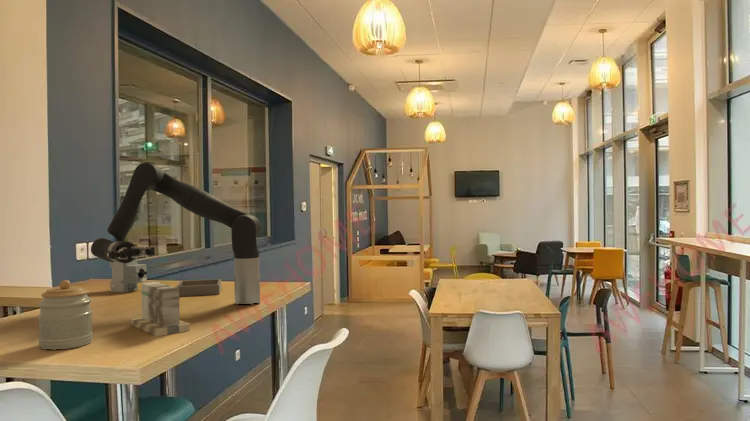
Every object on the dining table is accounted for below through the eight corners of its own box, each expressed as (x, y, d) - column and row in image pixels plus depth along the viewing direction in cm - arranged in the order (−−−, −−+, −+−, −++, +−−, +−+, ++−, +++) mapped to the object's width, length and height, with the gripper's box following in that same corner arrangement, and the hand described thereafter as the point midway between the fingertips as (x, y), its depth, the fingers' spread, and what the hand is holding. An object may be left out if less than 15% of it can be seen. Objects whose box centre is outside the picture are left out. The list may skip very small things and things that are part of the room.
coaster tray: (221, 288, 246) (221, 279, 245) (219, 294, 229) (219, 284, 229) (181, 289, 242) (180, 280, 242) (176, 296, 225) (175, 286, 225)
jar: (35, 353, 143) (33, 285, 142) (42, 341, 155) (41, 278, 154) (91, 347, 148) (89, 281, 148) (94, 336, 160) (93, 275, 159)
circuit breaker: (139, 292, 236) (139, 257, 236) (110, 291, 239) (109, 257, 239) (150, 289, 244) (149, 255, 243) (121, 289, 247) (120, 255, 246)
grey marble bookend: (131, 325, 174) (130, 283, 174) (162, 320, 181) (161, 280, 180) (156, 336, 159) (155, 291, 159) (189, 330, 166) (188, 287, 165)
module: (141, 318, 174) (141, 283, 174) (156, 315, 178) (155, 281, 177) (148, 320, 171) (147, 285, 170) (162, 318, 174) (162, 283, 174)
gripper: (99, 243, 189) (115, 244, 177) (142, 239, 198) (159, 240, 186) (100, 264, 189) (116, 267, 177) (143, 260, 198) (161, 262, 187)
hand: (138, 253), depth 182 cm, fingers open, 8 cm apart
